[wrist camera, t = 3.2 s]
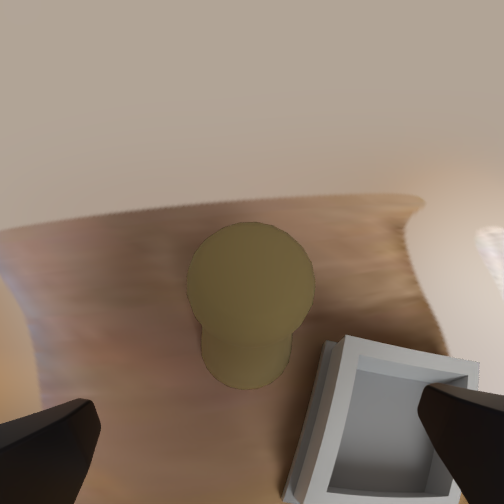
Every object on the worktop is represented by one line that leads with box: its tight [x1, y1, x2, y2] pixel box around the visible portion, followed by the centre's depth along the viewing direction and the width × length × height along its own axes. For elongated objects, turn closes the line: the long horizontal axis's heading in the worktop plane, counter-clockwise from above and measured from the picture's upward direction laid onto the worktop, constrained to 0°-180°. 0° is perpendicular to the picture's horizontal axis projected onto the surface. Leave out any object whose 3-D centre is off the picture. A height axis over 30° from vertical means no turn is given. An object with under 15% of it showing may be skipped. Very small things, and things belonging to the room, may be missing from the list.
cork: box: [187, 222, 315, 390], centre depth 16 cm, size 6×6×11 cm
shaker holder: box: [281, 335, 480, 504], centre depth 16 cm, size 11×11×4 cm
